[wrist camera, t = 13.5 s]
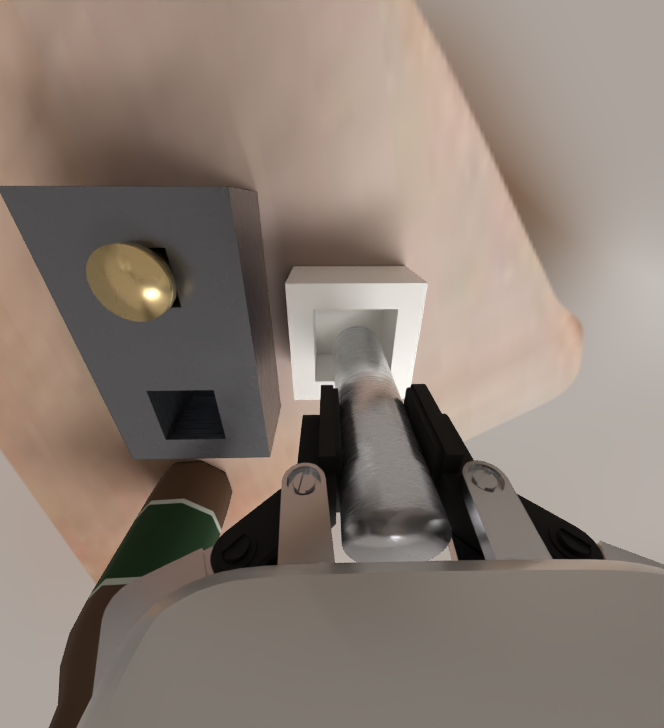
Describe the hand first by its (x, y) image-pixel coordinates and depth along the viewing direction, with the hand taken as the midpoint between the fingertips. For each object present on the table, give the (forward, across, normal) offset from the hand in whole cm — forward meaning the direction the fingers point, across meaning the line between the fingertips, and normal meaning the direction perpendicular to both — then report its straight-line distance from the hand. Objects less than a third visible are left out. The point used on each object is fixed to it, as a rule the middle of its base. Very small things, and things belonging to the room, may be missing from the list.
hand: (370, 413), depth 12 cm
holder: (+11, 0, 0) cm, 11 cm away
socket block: (+11, +11, 0) cm, 16 cm away
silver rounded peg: (+7, 0, 0) cm, 7 cm away
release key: (+10, +11, -5) cm, 16 cm away
